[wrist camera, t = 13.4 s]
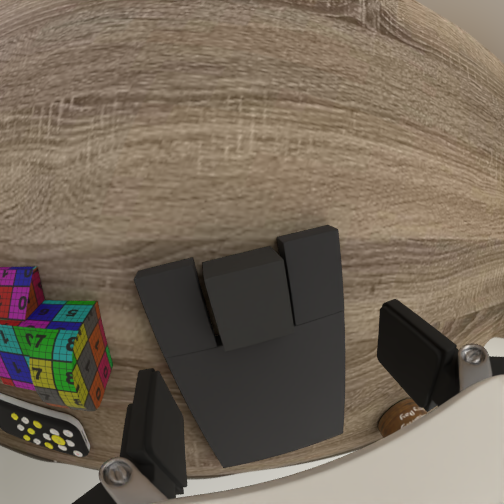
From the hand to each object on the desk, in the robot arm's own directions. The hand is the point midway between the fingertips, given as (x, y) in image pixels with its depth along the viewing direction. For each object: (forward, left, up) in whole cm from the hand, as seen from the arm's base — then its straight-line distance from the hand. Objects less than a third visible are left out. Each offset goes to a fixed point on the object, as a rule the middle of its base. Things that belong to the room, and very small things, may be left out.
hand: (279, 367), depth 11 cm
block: (-9, -14, -9) cm, 19 cm away
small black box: (0, 0, -9) cm, 9 cm away
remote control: (-3, -27, -9) cm, 29 cm away
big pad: (+7, -4, -9) cm, 12 cm away
